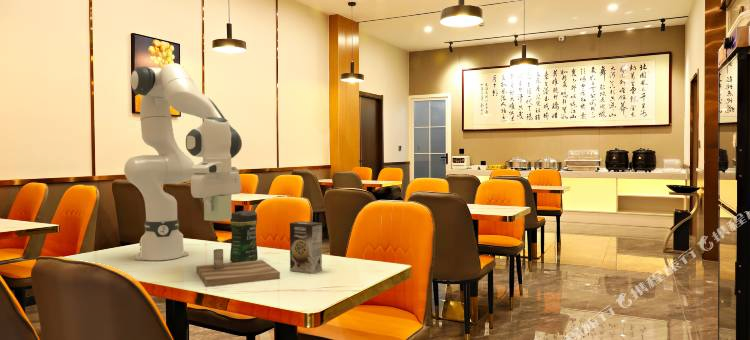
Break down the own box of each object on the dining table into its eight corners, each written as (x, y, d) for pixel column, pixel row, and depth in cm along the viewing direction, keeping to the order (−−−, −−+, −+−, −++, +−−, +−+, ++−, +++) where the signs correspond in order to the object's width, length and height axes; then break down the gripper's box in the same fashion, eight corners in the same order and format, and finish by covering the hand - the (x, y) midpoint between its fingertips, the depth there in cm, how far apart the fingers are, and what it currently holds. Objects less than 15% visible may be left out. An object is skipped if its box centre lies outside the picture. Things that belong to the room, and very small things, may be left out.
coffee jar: (242, 265, 184) (242, 212, 183) (226, 263, 188) (225, 211, 187) (261, 260, 192) (261, 210, 192) (246, 258, 196) (245, 209, 196)
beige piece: (204, 220, 167) (203, 195, 167) (217, 218, 173) (216, 194, 173) (218, 221, 165) (218, 195, 165) (231, 219, 170) (231, 194, 170)
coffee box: (289, 271, 173) (288, 222, 173) (300, 267, 179) (300, 220, 179) (311, 273, 169) (311, 224, 169) (322, 270, 175) (322, 222, 174)
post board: (196, 272, 173) (196, 248, 173) (262, 265, 183) (261, 242, 183) (206, 286, 153) (206, 259, 153) (279, 278, 163) (279, 252, 163)
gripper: (230, 166, 179) (230, 206, 180) (186, 167, 161) (187, 212, 161) (245, 166, 177) (245, 207, 177) (203, 167, 158) (203, 213, 158)
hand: (217, 209), depth 169 cm, fingers closed on beige piece, 6 cm apart
